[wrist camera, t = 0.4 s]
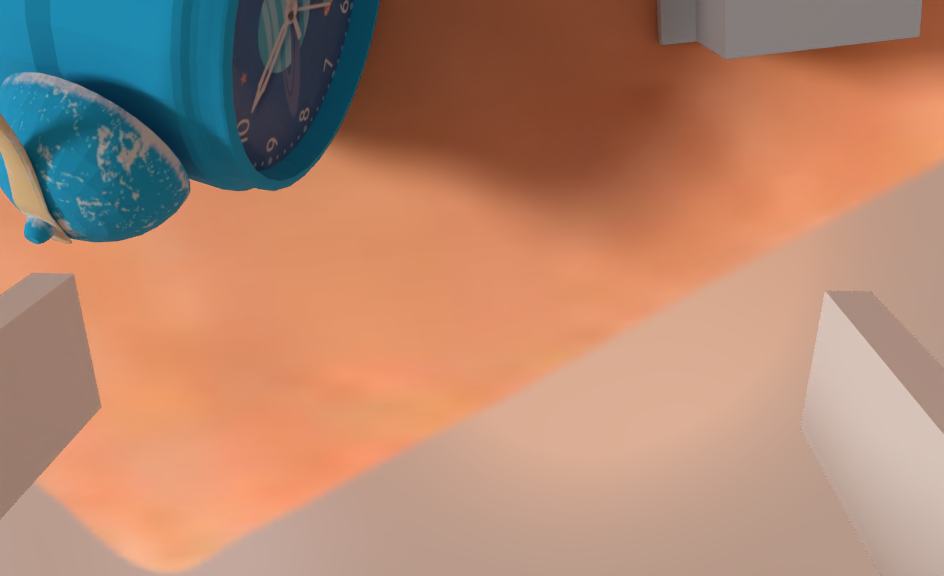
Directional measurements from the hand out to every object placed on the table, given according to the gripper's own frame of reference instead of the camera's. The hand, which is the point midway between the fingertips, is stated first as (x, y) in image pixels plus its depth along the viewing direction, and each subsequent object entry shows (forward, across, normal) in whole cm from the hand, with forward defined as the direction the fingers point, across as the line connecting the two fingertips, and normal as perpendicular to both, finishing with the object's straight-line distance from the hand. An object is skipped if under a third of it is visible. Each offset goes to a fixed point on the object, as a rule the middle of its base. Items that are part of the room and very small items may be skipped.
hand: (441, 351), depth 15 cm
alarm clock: (+27, -10, +5) cm, 29 cm away
